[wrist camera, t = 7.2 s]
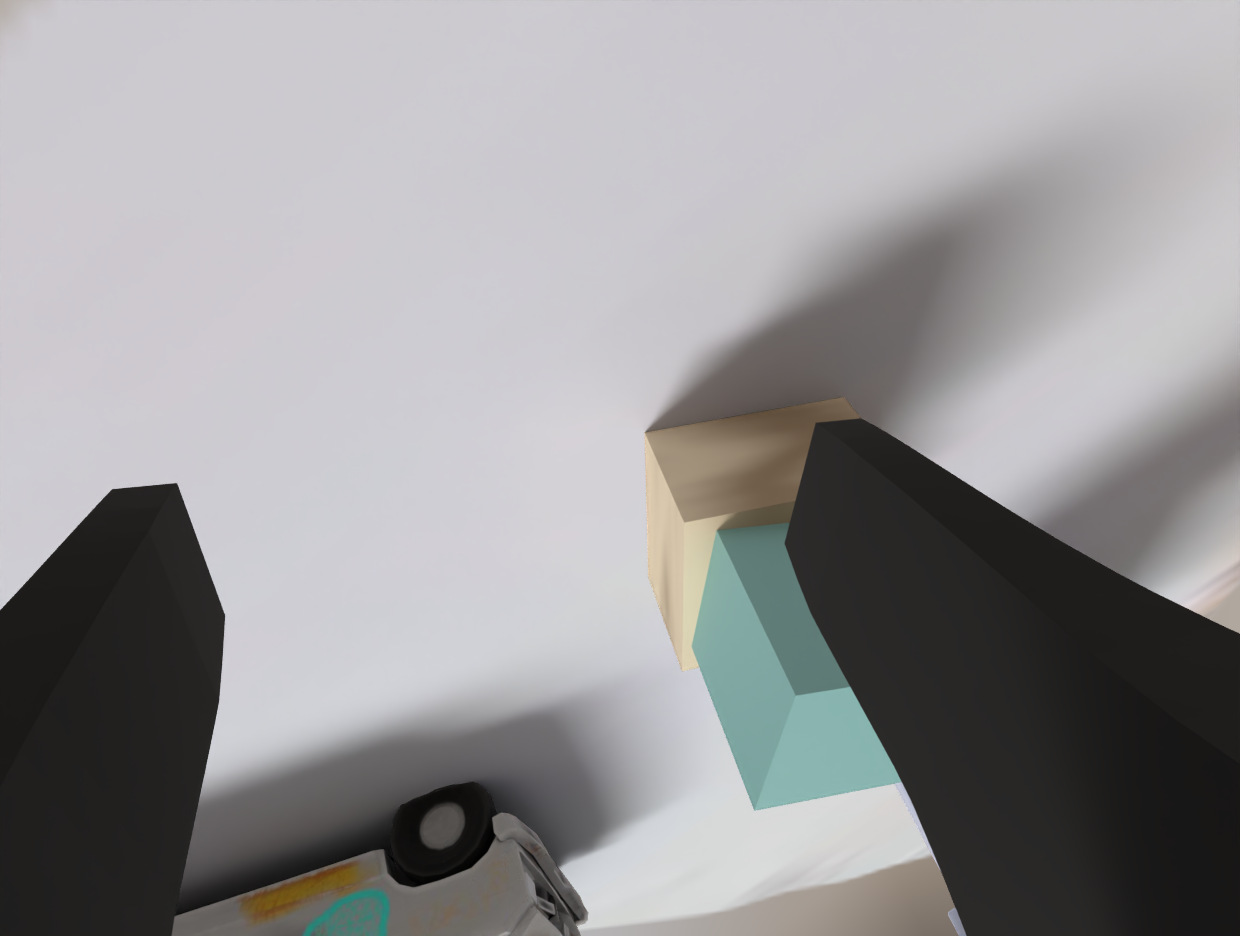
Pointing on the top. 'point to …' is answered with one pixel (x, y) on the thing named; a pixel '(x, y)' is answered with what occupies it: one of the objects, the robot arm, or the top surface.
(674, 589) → the beech block
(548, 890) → the toy car
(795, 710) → the teal block
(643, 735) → the top surface
